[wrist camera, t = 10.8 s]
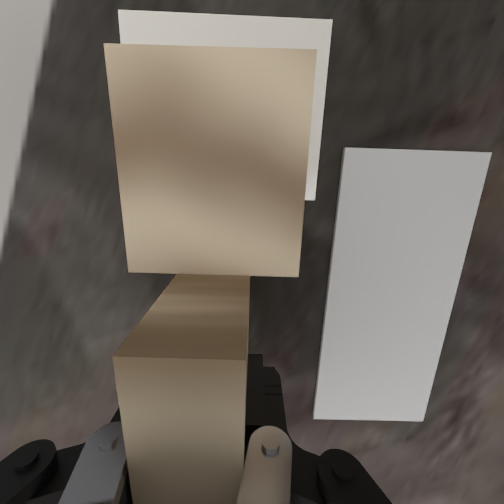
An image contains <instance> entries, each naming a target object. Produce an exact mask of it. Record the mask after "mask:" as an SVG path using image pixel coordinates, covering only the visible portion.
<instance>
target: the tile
mask: <svg viewBox="0 0 504 504" xmlns="http://www.w3.org/2000/svg"><path fill="white" fill-rule="evenodd" d="M118 16H119V29H120V42H121V44H147V45H183V46H218V47H254V48H289V49H317V55H316V68H315V80H314V92H313V105H312V117H311V129H310V142H309V154H308V166H307V178H306V191H305V200H315V194H316V184H317V174H318V163H319V153H320V143H321V133H322V123H323V113H324V102H325V92H326V82H327V72H328V62H329V52H330V42H331V31H332V21H333V20H331V19H309V18H288V17H267V16H245V15H224V14H202V13H181V12H160V11H138V10H118Z"/></svg>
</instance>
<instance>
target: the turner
mask: <svg viewBox="0 0 504 504" xmlns="http://www.w3.org/2000/svg"><path fill="white" fill-rule="evenodd" d="M104 51H105V61H106V70H107V79H108V88H109V97H110V106H111V116H112V125H113V134H114V143H115V152H116V162H117V171H118V180H119V189H120V198H121V208H122V217H123V226H124V235H125V244H126V254H127V263H128V272H136V273H171V274H176V276H175V277H174V278H173V280H172V281H171V282H170V283H169V285H168V286H167V287H166V288H165V290H164V291H163V292H162V294H161V295H160V296H159V297H158V299H157V300H156V301H155V303H154V304H153V305H152V306H151V308H150V309H149V310H148V311H147V313H146V314H145V315H144V317H143V318H142V319H141V320H140V322H139V323H138V324H137V326H136V327H135V328H134V329H133V331H132V332H131V333H130V334H129V336H128V337H127V338H126V340H125V341H124V342H123V343H122V345H121V346H120V347H119V349H118V350H117V351H116V352H115V354H114V355H113V356H112V358H113V365H114V373H115V380H116V387H117V394H118V401H119V408H120V415H121V423H122V430H123V437H124V444H125V451H126V458H127V465H128V473H129V480H130V487H131V494H132V501H133V504H237V499H238V494H239V489H240V484H241V480H242V475H243V470H244V450H245V415H246V388H247V361H248V333H249V295H250V276H276V277H299V265H300V252H301V240H302V228H303V215H304V203H305V191H306V178H307V166H308V154H309V142H310V129H311V117H312V105H313V92H314V80H315V68H316V55H317V49H289V48H254V47H218V46H183V45H147V44H111V43H104Z"/></svg>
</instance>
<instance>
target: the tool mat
mask: <svg viewBox="0 0 504 504" xmlns="http://www.w3.org/2000/svg"><path fill="white" fill-rule="evenodd" d="M491 154H492V152H464V151H434V150H405V149H376V148H346V147H345V148H343V155H342V163H341V172H340V181H339V189H338V198H337V207H336V215H335V224H334V233H333V241H332V250H331V259H330V267H329V276H328V285H327V293H326V302H325V311H324V319H323V328H322V337H321V346H320V354H319V363H318V372H317V380H316V389H315V398H314V406H313V419H339V420H385V421H423V419H424V416H425V412H426V408H427V404H428V400H429V396H430V392H431V388H432V384H433V380H434V377H435V373H436V369H437V365H438V361H439V357H440V353H441V349H442V345H443V341H444V338H445V334H446V330H447V326H448V322H449V318H450V314H451V310H452V306H453V302H454V299H455V295H456V291H457V287H458V283H459V279H460V275H461V271H462V267H463V264H464V260H465V256H466V252H467V248H468V244H469V240H470V236H471V232H472V228H473V225H474V221H475V217H476V213H477V209H478V205H479V201H480V197H481V193H482V189H483V186H484V182H485V178H486V174H487V170H488V166H489V162H490V158H491Z"/></svg>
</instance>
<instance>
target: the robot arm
mask: <svg viewBox="0 0 504 504" xmlns="http://www.w3.org/2000/svg"><path fill="white" fill-rule="evenodd" d="M0 504H133V501H132V494H131V487H130V480H129V473H128V465H127V458H126V451H125V444H124V437H123V430H122V423H121V415H120V408H118V410H117V412H116V413H115V415H114V417H113V418H112V420H111V422H110V423H108V424H106V425H104V426H102V427H100V428H99V429H97V430H96V431H95V432H94V433H93V434H92V435H91V436H90V437H89V438H88V440H87V441H86V442H85V443H83V444H80V445H76V446H73V447H69V448H65V449H61V450H57V451H56V447H55V444H54V443H53V442H52V441H50V440H45V439H42V440H36V441H33V442H30V443H28V444H26V445H23V446H22V447H20V448H18V449H17V450H15V451H14V452H13V453H11V454H10V455H9V456H7V457H6V458H5V459H3V460H2V461H1V462H0ZM237 504H392V503H391V502H390V500H389V499H388V498H387V497H386V495H385V494H384V493H383V492H382V490H381V489H380V488H379V486H378V485H377V484H376V483H375V481H374V480H373V479H372V478H371V476H370V475H369V474H368V472H367V471H366V470H365V469H364V467H363V466H362V465H361V464H360V462H359V461H358V460H357V459H356V458H355V457H354V456H352V455H351V454H350V453H348V452H346V451H343V450H340V449H329V450H327V451H325V452H324V453H323V454H322V455H321V456H318V455H315V454H312V453H310V452H307V451H305V450H303V449H301V448H300V447H298V446H297V445H296V444H295V443H294V442H293V441H292V439H291V438H290V436H289V434H288V432H287V426H286V418H285V411H284V403H283V396H282V388H281V380H280V375H279V373H278V372H277V370H276V369H275V367H263V356H262V354H248V361H247V388H246V415H245V450H244V470H243V475H242V480H241V484H240V489H239V494H238V499H237Z"/></svg>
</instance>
